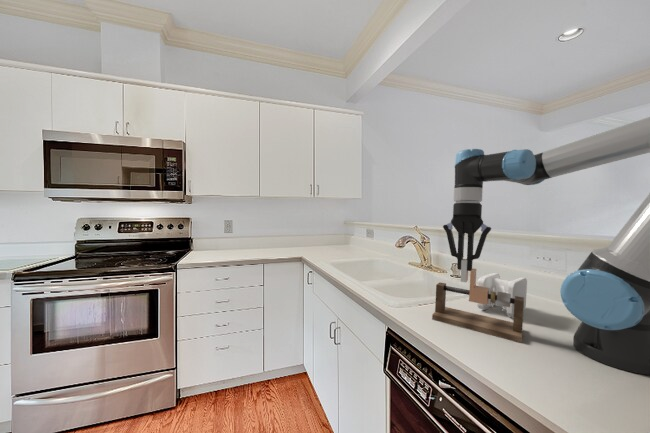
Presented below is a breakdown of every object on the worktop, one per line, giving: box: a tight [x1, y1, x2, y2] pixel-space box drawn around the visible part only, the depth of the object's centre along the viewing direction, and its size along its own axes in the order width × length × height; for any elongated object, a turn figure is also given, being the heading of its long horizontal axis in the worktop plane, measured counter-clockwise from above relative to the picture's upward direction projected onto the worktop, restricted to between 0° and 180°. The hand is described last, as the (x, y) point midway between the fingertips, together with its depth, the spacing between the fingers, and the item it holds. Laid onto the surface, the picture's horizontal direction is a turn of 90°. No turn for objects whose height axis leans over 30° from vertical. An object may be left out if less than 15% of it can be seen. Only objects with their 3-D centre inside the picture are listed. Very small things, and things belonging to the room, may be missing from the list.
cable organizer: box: [476, 272, 528, 319], centre depth 91 cm, size 15×11×12 cm
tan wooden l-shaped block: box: [468, 268, 489, 305], centre depth 79 cm, size 4×4×9 cm
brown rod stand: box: [431, 281, 524, 344], centre depth 79 cm, size 22×10×10 cm, turn 53°
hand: (464, 280), depth 81 cm, fingers closed
